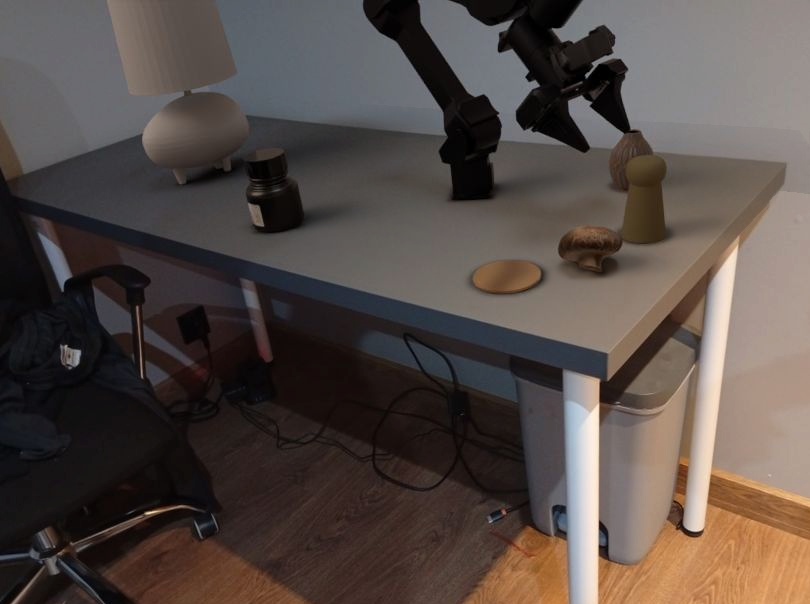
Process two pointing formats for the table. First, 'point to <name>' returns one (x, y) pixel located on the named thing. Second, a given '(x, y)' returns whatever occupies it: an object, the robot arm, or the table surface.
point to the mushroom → (589, 246)
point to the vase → (627, 155)
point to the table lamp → (181, 80)
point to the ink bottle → (272, 191)
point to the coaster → (507, 276)
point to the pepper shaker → (644, 200)
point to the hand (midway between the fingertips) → (608, 141)
